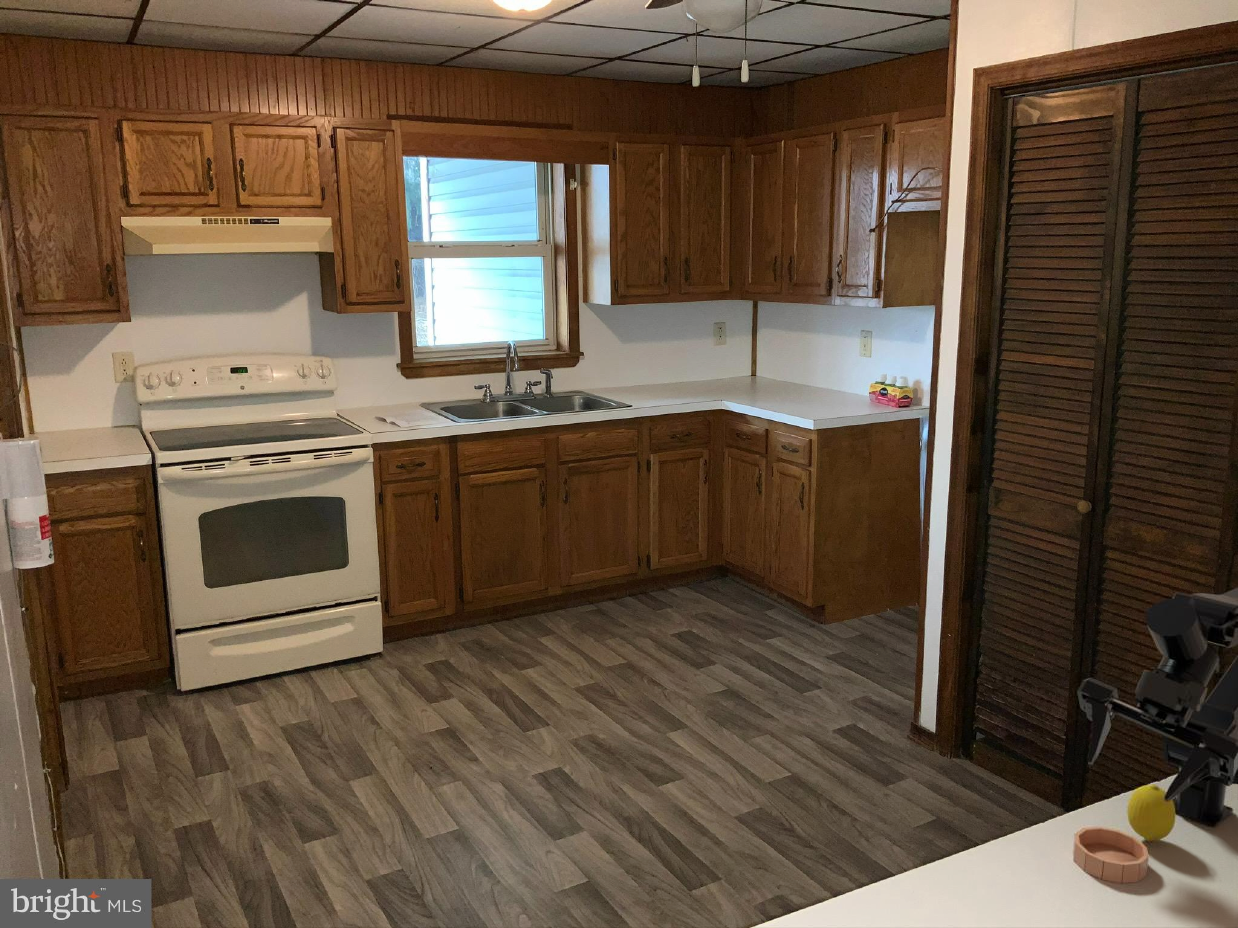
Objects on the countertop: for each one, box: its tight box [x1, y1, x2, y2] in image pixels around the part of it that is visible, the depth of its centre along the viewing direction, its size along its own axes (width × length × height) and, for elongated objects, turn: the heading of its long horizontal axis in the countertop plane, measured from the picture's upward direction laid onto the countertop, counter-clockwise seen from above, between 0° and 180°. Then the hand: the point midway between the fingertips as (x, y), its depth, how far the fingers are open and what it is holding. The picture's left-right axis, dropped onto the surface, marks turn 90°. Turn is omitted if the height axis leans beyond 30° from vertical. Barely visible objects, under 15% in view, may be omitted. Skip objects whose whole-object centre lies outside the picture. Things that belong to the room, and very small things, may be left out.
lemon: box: [1126, 783, 1176, 842], centre depth 131 cm, size 6×6×8 cm
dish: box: [1072, 826, 1149, 884], centre depth 127 cm, size 8×8×2 cm
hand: (1126, 781), depth 124 cm, fingers open, 9 cm apart
